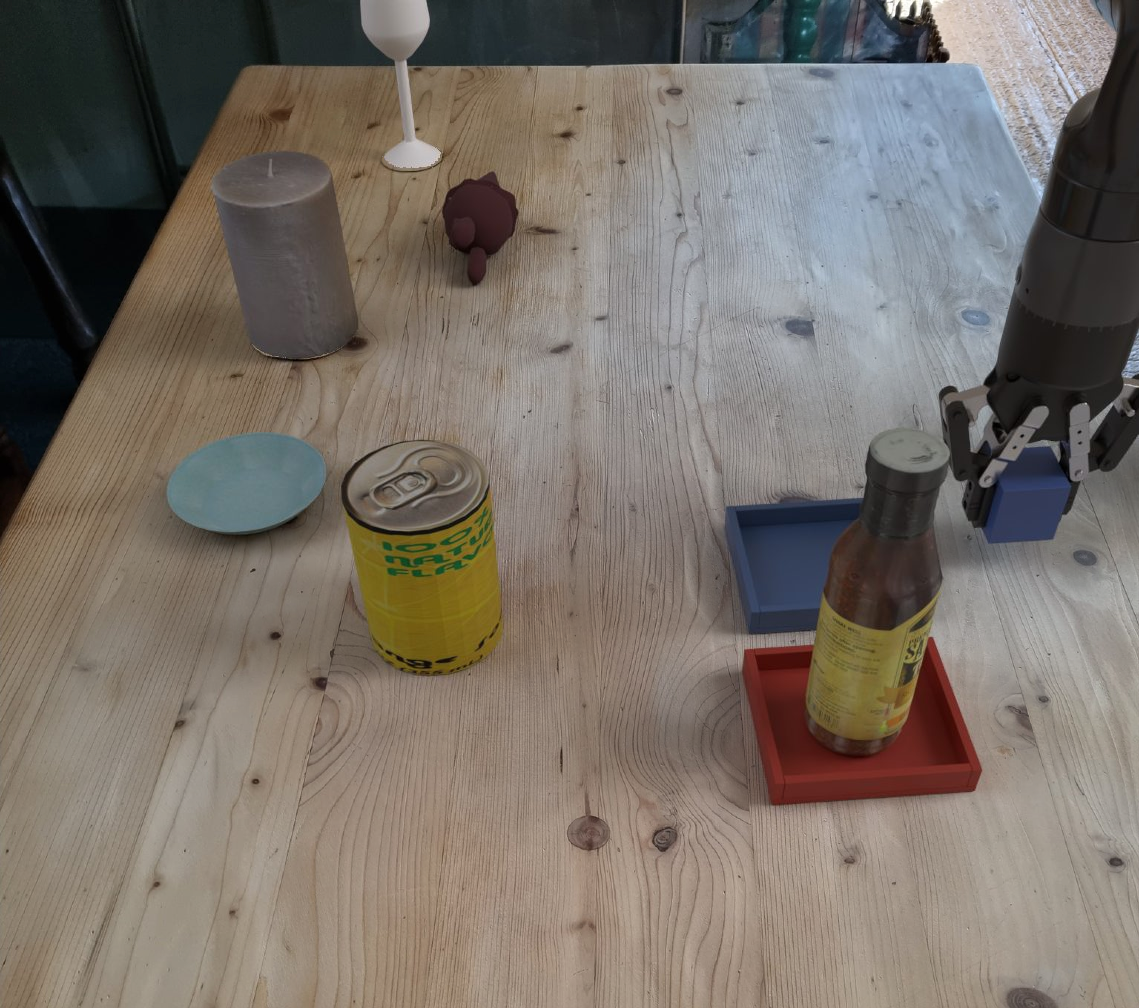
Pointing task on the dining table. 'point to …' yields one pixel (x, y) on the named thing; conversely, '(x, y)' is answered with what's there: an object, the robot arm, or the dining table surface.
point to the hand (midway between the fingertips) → (1013, 517)
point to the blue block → (1028, 498)
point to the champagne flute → (400, 66)
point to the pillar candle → (287, 252)
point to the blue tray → (785, 559)
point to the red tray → (815, 773)
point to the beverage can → (425, 554)
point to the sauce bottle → (879, 599)
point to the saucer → (246, 483)
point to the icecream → (479, 221)
